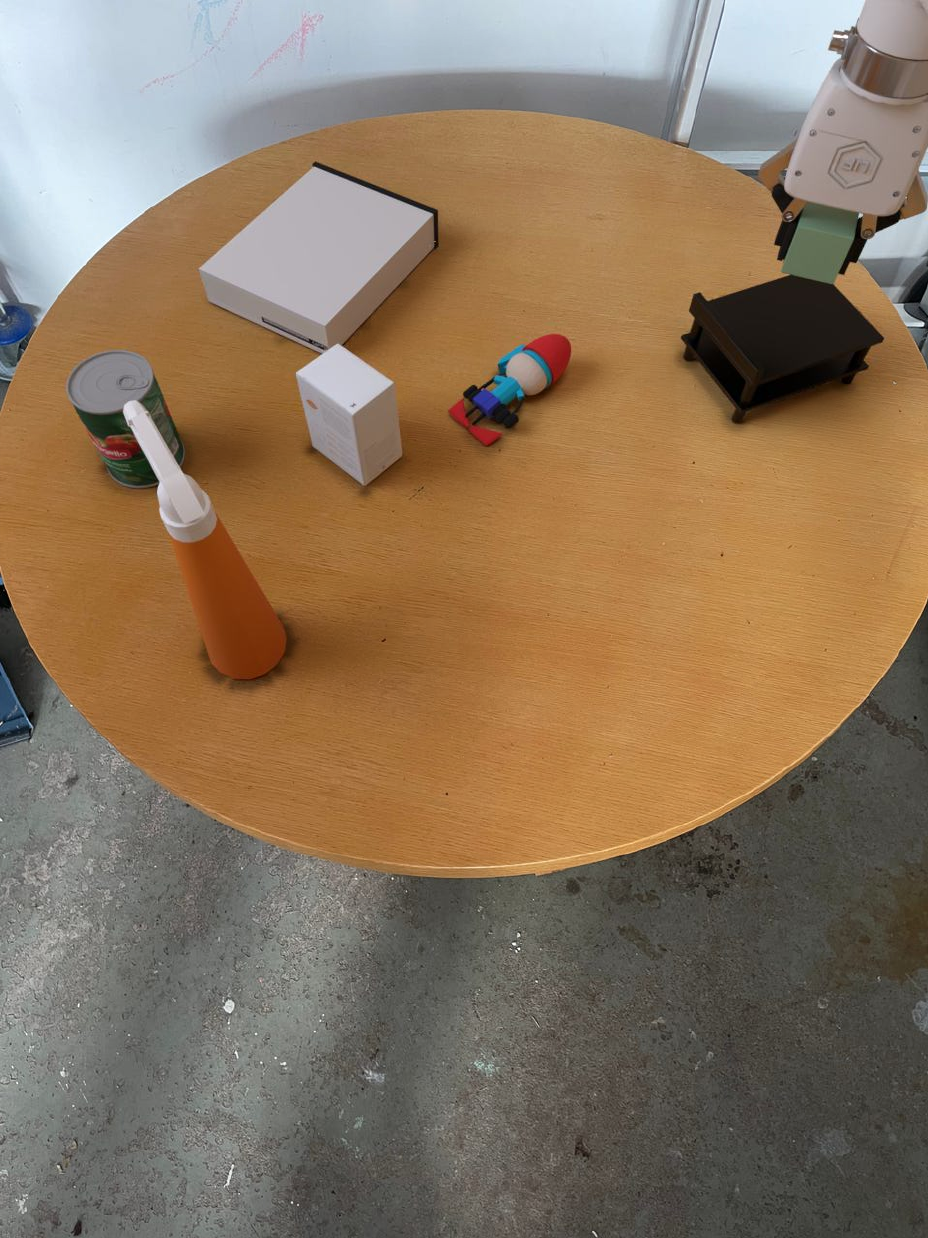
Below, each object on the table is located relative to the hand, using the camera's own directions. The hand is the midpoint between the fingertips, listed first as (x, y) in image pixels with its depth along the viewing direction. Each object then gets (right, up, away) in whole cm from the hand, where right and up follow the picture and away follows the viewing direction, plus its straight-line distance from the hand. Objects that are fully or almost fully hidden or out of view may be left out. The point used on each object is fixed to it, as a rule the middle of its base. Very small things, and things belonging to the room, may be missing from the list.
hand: (812, 256), depth 83 cm
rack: (0, -7, +13) cm, 14 cm away
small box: (-44, -18, +7) cm, 48 cm away
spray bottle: (-54, -36, -4) cm, 65 cm away
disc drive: (-50, +6, +20) cm, 54 cm away
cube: (0, 0, +1) cm, 1 cm away
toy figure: (-28, -11, +11) cm, 32 cm away
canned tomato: (-66, -18, +6) cm, 69 cm away
